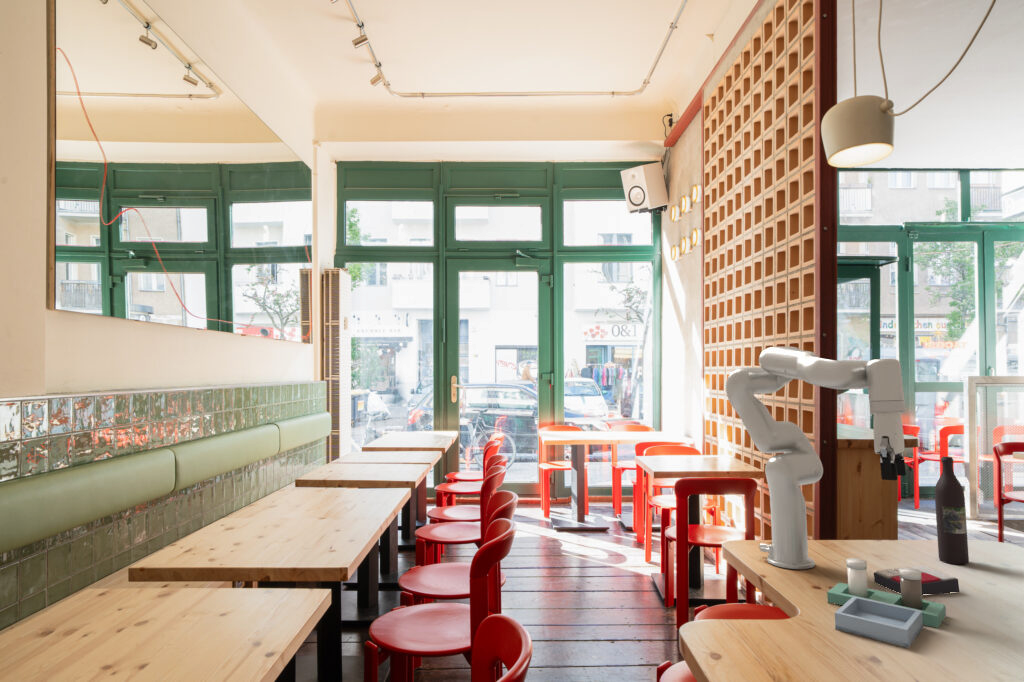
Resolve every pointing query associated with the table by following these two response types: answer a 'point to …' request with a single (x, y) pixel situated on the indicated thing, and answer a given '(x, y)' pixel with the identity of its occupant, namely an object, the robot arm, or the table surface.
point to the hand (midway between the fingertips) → (894, 477)
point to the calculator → (929, 580)
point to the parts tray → (879, 621)
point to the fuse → (857, 577)
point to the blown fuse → (911, 588)
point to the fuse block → (931, 610)
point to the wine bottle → (951, 516)
